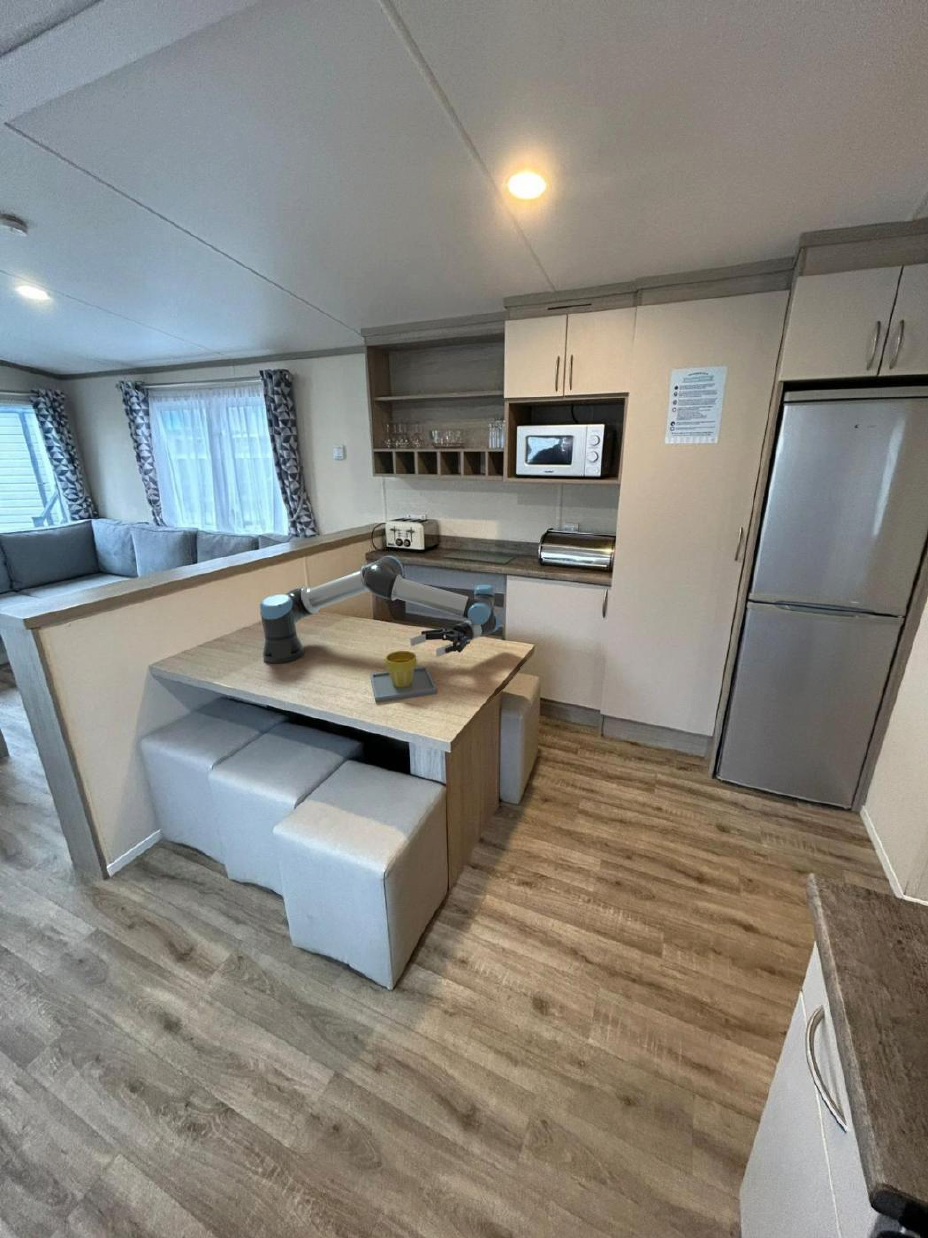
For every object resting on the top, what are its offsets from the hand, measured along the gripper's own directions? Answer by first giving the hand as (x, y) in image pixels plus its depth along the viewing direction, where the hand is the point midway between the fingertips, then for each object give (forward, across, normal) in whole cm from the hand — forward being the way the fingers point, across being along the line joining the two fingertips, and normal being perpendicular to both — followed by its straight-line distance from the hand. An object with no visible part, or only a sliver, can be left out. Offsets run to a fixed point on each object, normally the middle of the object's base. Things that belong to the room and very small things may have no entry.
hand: (423, 647), depth 167 cm
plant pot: (+10, 0, -10) cm, 14 cm away
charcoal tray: (+10, 0, -11) cm, 15 cm away
